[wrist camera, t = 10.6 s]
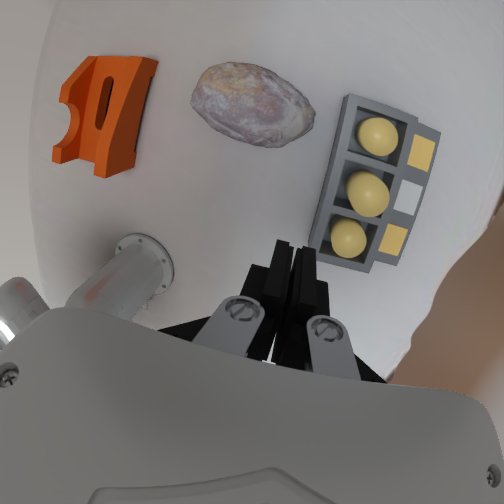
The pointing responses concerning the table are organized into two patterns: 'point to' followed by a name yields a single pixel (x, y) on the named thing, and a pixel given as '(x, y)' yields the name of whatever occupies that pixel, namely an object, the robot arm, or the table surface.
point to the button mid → (367, 193)
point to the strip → (409, 194)
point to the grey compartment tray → (355, 158)
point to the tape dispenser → (93, 112)
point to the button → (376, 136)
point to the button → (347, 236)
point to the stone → (252, 105)
